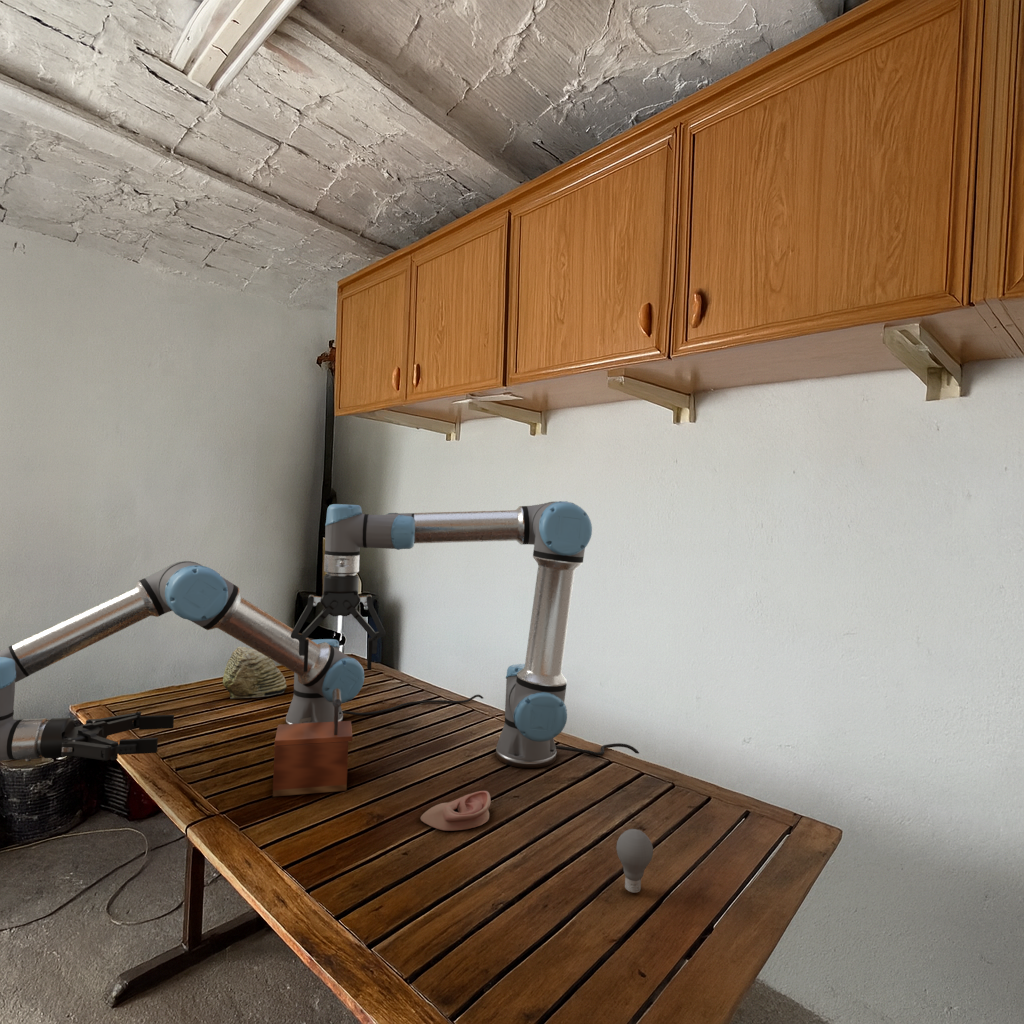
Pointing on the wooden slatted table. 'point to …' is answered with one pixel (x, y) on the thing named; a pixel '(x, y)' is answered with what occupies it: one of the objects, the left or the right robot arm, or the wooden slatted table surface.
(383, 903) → the wooden slatted table surface
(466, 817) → the anatomical model
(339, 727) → the lid
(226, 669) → the fossil
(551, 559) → the right robot arm
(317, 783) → the chest
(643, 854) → the light bulb
